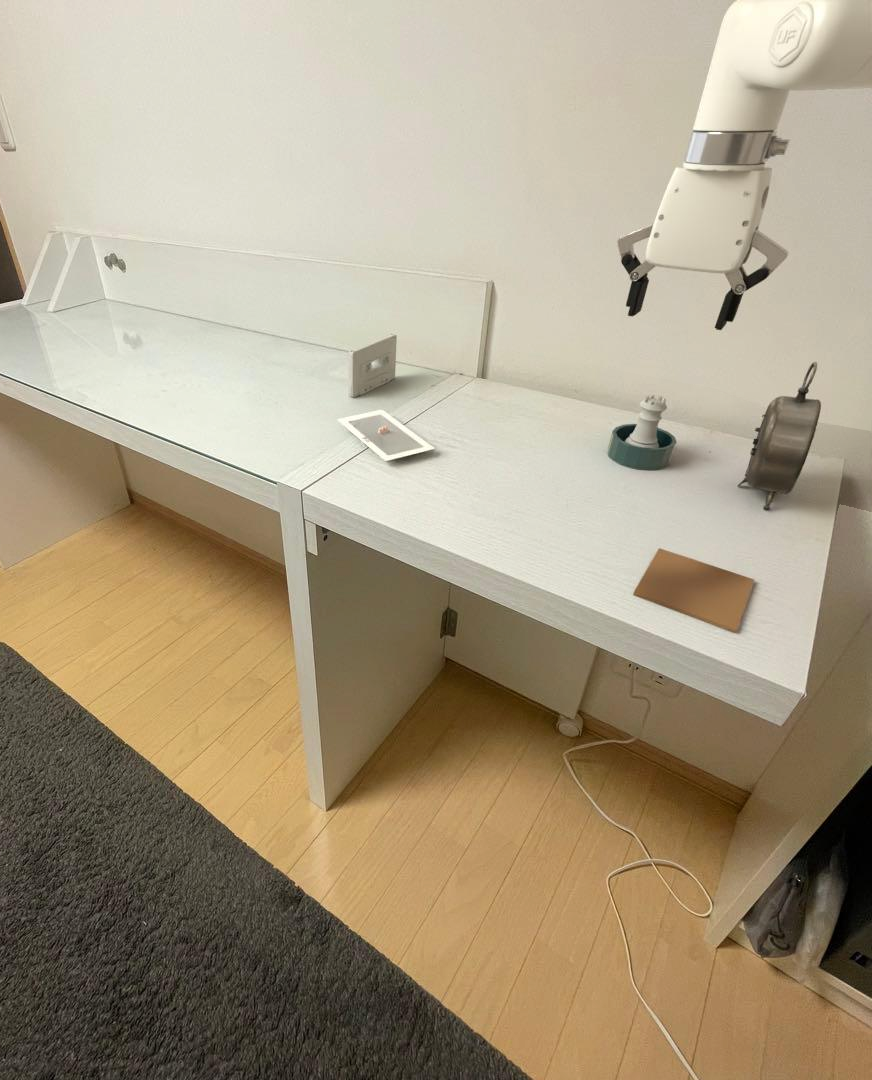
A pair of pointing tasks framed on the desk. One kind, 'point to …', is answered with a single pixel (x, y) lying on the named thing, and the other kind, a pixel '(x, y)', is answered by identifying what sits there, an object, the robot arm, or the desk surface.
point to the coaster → (696, 589)
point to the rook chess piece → (648, 422)
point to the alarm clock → (783, 442)
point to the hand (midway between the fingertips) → (675, 320)
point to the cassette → (369, 375)
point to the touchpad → (385, 435)
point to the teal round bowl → (640, 449)
